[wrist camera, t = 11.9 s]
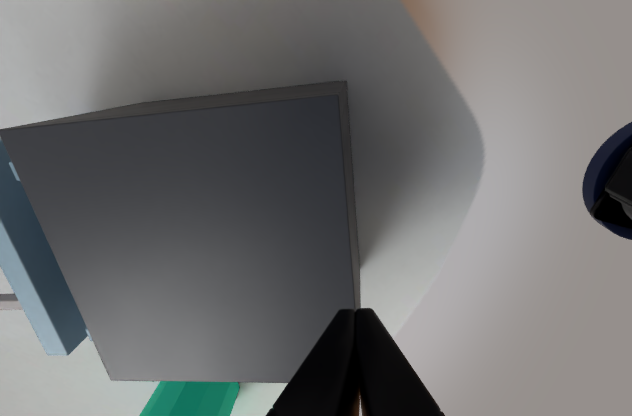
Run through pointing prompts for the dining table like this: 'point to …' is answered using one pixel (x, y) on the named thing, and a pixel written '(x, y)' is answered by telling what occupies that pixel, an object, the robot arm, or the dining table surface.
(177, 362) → the dark grey box
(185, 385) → the candle
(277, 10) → the dining table surface
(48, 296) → the drawer
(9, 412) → the dining table surface
